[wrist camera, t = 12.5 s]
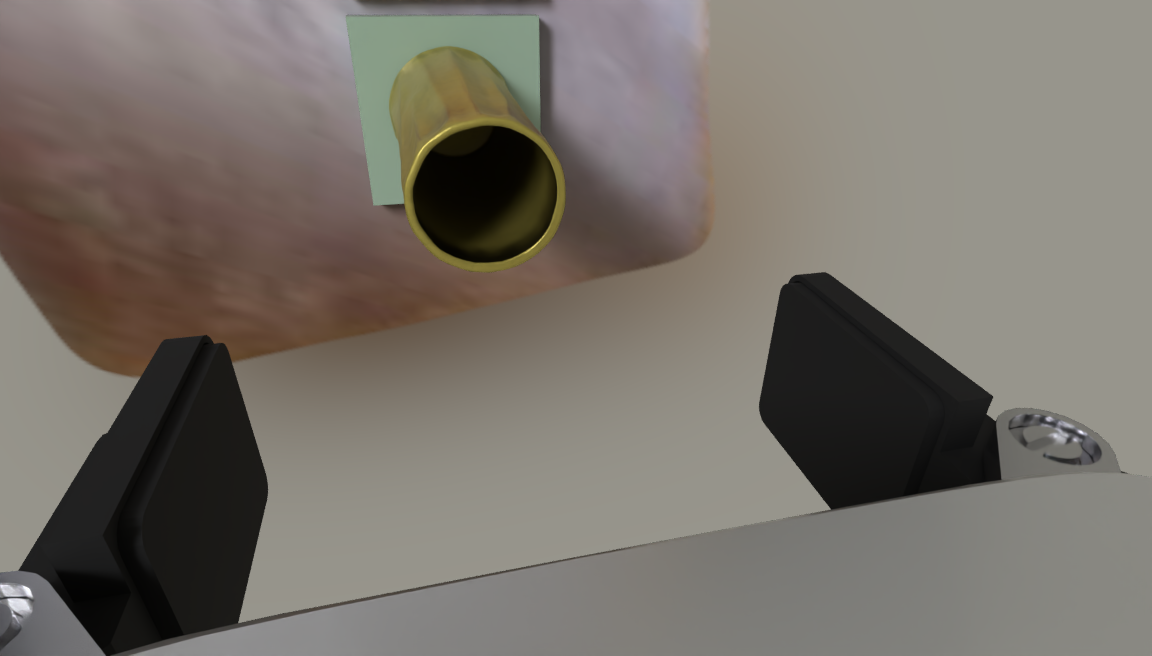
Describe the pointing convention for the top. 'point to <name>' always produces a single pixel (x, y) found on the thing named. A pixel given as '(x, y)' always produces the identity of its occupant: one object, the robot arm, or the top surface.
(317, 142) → the top surface
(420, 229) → the vase
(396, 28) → the green coaster
